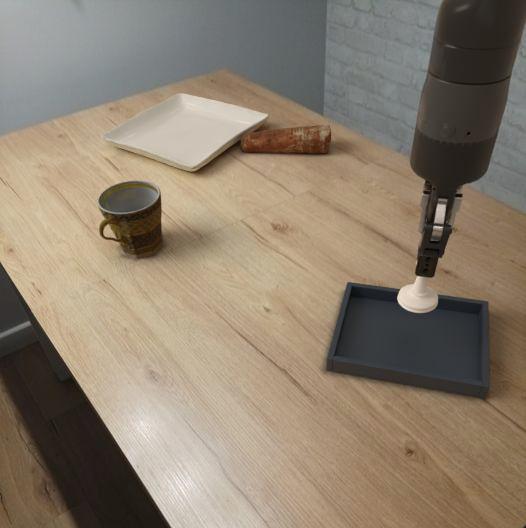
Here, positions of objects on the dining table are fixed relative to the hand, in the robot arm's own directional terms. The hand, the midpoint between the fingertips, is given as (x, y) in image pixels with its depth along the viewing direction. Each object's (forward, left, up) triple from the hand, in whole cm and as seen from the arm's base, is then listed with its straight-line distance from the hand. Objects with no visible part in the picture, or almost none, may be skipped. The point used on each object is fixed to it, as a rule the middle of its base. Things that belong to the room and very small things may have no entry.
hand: (425, 267), depth 61 cm
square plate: (+53, -52, -13) cm, 75 cm away
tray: (0, 0, -13) cm, 13 cm away
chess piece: (0, 0, -5) cm, 5 cm away
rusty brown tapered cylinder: (+30, -50, -13) cm, 60 cm away
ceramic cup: (+46, -11, -13) cm, 49 cm away
